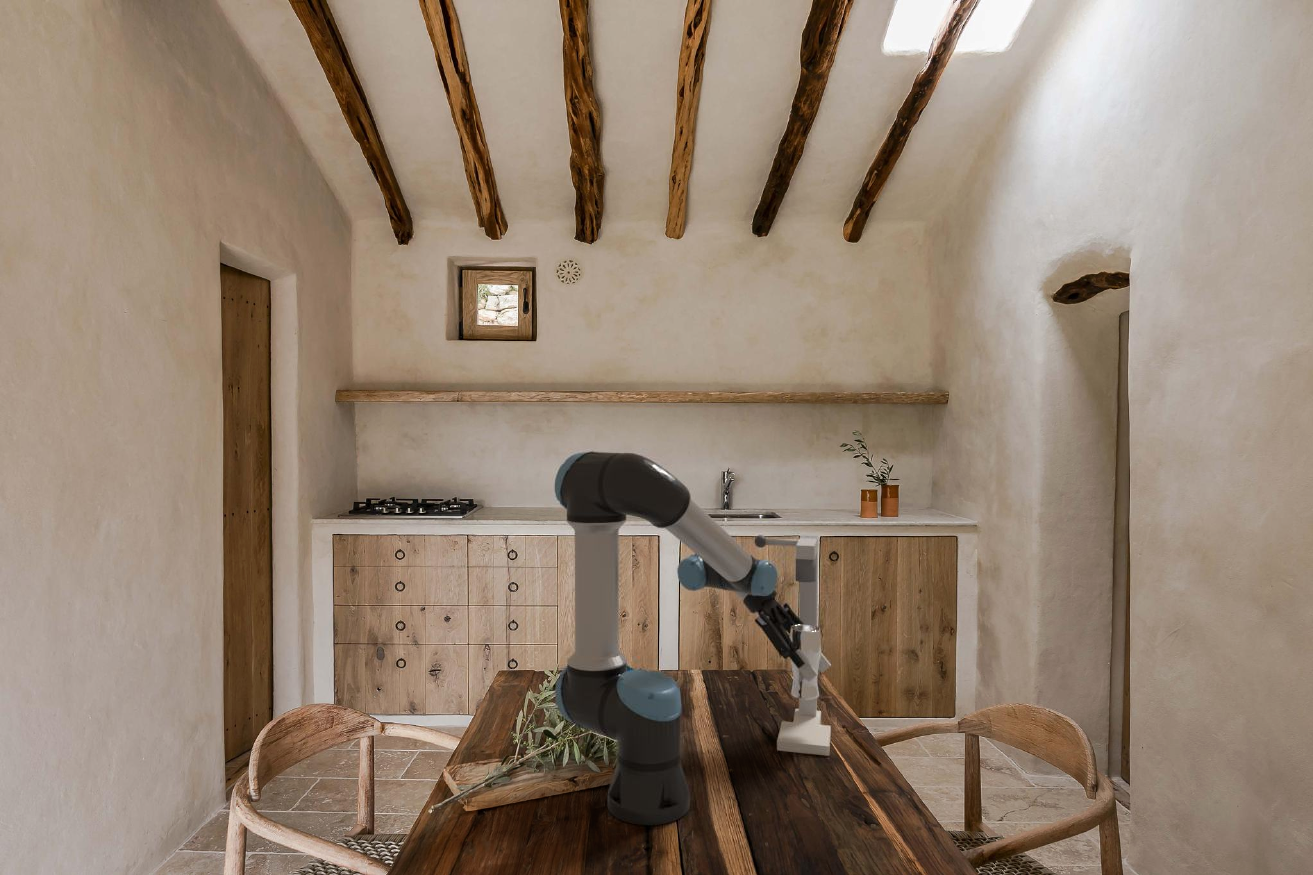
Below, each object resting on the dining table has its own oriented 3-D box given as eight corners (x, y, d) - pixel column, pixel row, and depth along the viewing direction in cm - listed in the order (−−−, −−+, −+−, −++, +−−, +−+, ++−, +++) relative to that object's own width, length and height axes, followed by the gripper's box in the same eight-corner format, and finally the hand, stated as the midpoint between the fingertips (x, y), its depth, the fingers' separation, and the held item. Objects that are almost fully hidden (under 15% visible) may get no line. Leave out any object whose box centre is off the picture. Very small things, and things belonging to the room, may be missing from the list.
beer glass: (787, 698, 168) (787, 630, 168) (791, 688, 175) (791, 622, 174) (819, 701, 166) (820, 632, 166) (822, 691, 173) (822, 625, 172)
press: (829, 755, 163) (830, 549, 163) (742, 746, 168) (743, 545, 167) (831, 720, 183) (832, 536, 183) (754, 712, 188) (755, 533, 188)
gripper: (763, 593, 187) (825, 671, 178) (723, 608, 171) (790, 695, 162) (783, 574, 184) (848, 652, 175) (744, 587, 168) (814, 675, 159)
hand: (820, 673), depth 168 cm, fingers closed on beer glass, 7 cm apart
